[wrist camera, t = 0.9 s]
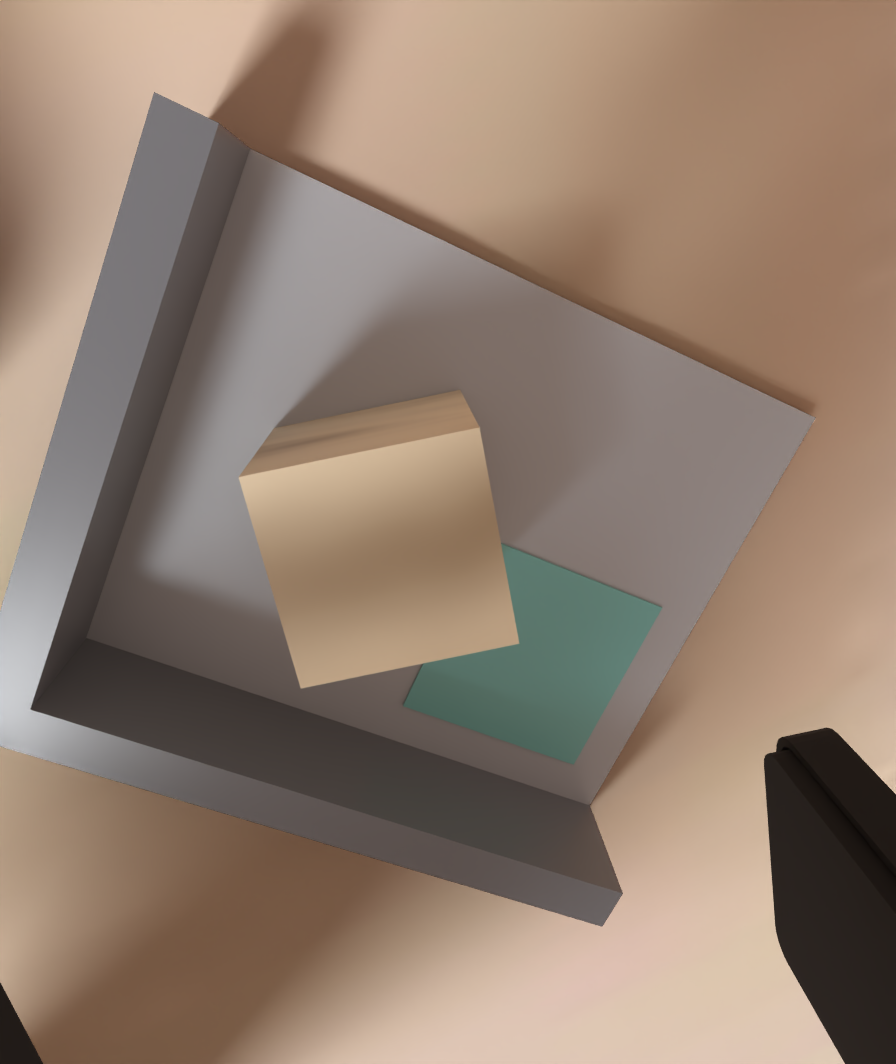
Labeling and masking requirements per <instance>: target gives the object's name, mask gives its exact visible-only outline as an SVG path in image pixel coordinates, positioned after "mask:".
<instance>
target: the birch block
mask: <svg viewBox="0 0 896 1064" xmlns="http://www.w3.org/2000/svg"><path fill="white" fill-rule="evenodd" d="M239 481H240V484H241V487H242V491H243V494H244V498H245V501H246V504H247V508H248V511H249V515H250V518H251V521H252V525H253V528H254V532H255V535H256V538H257V542H258V545H259V549H260V552H261V555H262V559H263V562H264V566H265V569H266V572H267V576H268V579H269V583H270V586H271V589H272V593H273V596H274V600H275V603H276V606H277V610H278V613H279V616H280V620H281V623H282V627H283V630H284V633H285V637H286V640H287V644H288V647H289V650H290V654H291V657H292V661H293V664H294V667H295V671H296V674H297V678H298V681H299V684H300V688H306V687H311V686H316V685H321V684H326V683H330V682H335V681H340V680H345V679H350V678H355V677H360V676H364V675H369V674H374V673H379V672H384V671H389V670H394V669H398V668H403V667H408V666H413V665H418V664H423V663H428V662H433V661H437V660H442V659H447V658H452V657H457V656H462V655H467V654H471V653H476V652H481V651H486V650H491V649H496V648H501V647H505V646H510V645H515V644H519V639H518V634H517V628H516V623H515V617H514V612H513V606H512V601H511V596H510V590H509V585H508V579H507V574H506V568H505V563H504V557H503V552H502V547H501V541H500V536H499V530H498V525H497V519H496V514H495V509H494V503H493V498H492V492H491V487H490V481H489V476H488V470H487V465H486V460H485V454H484V449H483V443H482V438H481V432H480V427H479V425H478V423H477V421H476V420H475V418H474V416H473V414H472V412H471V410H470V408H469V406H468V404H467V402H466V400H465V398H464V396H463V394H462V392H461V390H456V391H451V392H447V393H442V394H437V395H432V396H427V397H422V398H418V399H413V400H408V401H403V402H398V403H393V404H388V405H384V406H379V407H374V408H369V409H364V410H359V411H355V412H350V413H345V414H340V415H335V416H330V417H326V418H321V419H316V420H311V421H306V422H301V423H296V424H292V425H287V426H282V427H277V428H274V429H273V430H272V432H271V433H270V434H269V436H268V437H267V438H266V440H265V441H264V443H263V444H262V445H261V447H260V448H259V450H258V451H257V452H256V454H255V455H254V456H253V458H252V459H251V461H250V462H249V463H248V465H247V466H246V467H245V469H244V470H243V472H242V473H241V474H240V476H239Z"/></svg>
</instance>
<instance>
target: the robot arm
mask: <svg viewBox="0 0 896 1064" xmlns="http://www.w3.org/2000/svg"><path fill="white" fill-rule="evenodd" d="M764 770H765V784H766V799H767V813H768V827H769V842H770V856H771V870H772V885H773V899H774V913H775V926H776V933H777V937H778V941H779V944H780V947H781V949H782V952H783V954H784V957H785V959H786V961H787V963H788V965H789V966H790V968H791V970H792V972H793V973H794V975H795V977H796V979H797V980H798V982H799V984H800V986H801V987H802V989H803V991H804V993H805V994H806V996H807V998H808V1000H809V1001H810V1003H811V1005H812V1007H813V1008H814V1010H815V1012H816V1014H817V1015H818V1017H819V1019H820V1021H821V1022H822V1024H823V1026H824V1028H825V1029H826V1031H827V1033H828V1035H829V1036H830V1038H831V1040H832V1042H833V1043H834V1045H835V1047H836V1049H837V1050H838V1052H839V1054H840V1056H841V1057H842V1059H843V1061H844V1063H845V1064H896V794H895V793H894V792H893V791H892V790H891V789H890V788H889V787H888V786H887V785H886V784H885V783H884V782H883V781H882V780H881V778H880V777H879V776H878V775H877V774H876V773H875V772H874V771H873V770H872V769H871V768H870V767H869V766H868V765H867V764H866V763H865V762H864V761H863V760H862V759H861V757H860V756H859V755H858V754H857V753H856V752H855V751H854V750H853V749H852V748H851V747H850V746H849V745H848V744H847V743H846V742H845V741H844V740H843V739H842V737H841V736H840V735H839V734H838V733H836V732H835V731H834V730H833V729H830V728H823V729H818V730H814V731H809V732H804V733H800V734H795V735H790V736H785V737H782V738H780V739H778V742H777V749H776V752H774V753H769V754H767V755H765V758H764ZM0 1064H43V1063H42V1061H41V1059H40V1057H39V1055H38V1053H37V1051H36V1049H35V1047H34V1046H33V1044H32V1042H31V1040H30V1038H29V1036H28V1034H27V1032H26V1030H25V1028H24V1027H23V1025H22V1023H21V1021H20V1019H19V1017H18V1015H17V1013H16V1011H15V1009H14V1008H13V1006H12V1004H11V1002H10V1000H9V998H8V996H7V994H6V992H5V991H4V989H3V987H2V985H1V983H0Z"/></svg>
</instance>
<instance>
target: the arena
mask: <svg viewBox="0 0 896 1064" xmlns="http://www.w3.org/2000/svg"><path fill="white" fill-rule="evenodd" d="M456 390H461V392H462V394H463V396H464V398H465V400H466V402H467V404H468V406H469V408H470V410H471V412H472V414H473V416H474V418H475V420H476V421H477V423H478V425H479V427H480V432H481V438H482V443H483V449H484V454H485V460H486V465H487V470H488V476H489V481H490V487H491V492H492V498H493V503H494V509H495V514H496V519H497V525H498V530H499V536H500V541H501V547H502V552H503V557H504V563H505V568H506V574H507V579H508V585H509V590H510V596H511V601H512V606H513V612H514V617H515V623H516V628H517V634H518V639H519V644H515V645H510V646H505V647H501V648H496V649H491V650H486V651H481V652H476V653H471V654H467V655H462V656H457V657H452V658H447V659H442V660H437V661H433V662H428V663H423V664H418V665H413V666H408V667H403V668H398V669H394V670H389V671H384V672H379V673H374V674H369V675H364V676H360V677H355V678H350V679H345V680H340V681H335V682H330V683H326V684H321V685H316V686H311V687H306V688H300V684H299V681H298V678H297V674H296V671H295V667H294V664H293V661H292V657H291V654H290V650H289V647H288V644H287V640H286V637H285V633H284V630H283V627H282V623H281V620H280V616H279V613H278V610H277V606H276V603H275V600H274V596H273V593H272V589H271V586H270V583H269V579H268V576H267V572H266V569H265V566H264V562H263V559H262V555H261V552H260V549H259V545H258V542H257V538H256V535H255V532H254V528H253V525H252V521H251V518H250V515H249V511H248V508H247V504H246V501H245V498H244V494H243V491H242V487H241V484H240V481H239V476H240V474H241V473H242V472H243V470H244V469H245V467H246V466H247V465H248V463H249V462H250V461H251V459H252V458H253V456H254V455H255V454H256V452H257V451H258V450H259V448H260V447H261V445H262V444H263V443H264V441H265V440H266V438H267V437H268V436H269V434H270V433H271V432H272V430H273V429H274V428H277V427H282V426H287V425H292V424H296V423H301V422H306V421H311V420H316V419H321V418H326V417H330V416H335V415H340V414H345V413H350V412H355V411H359V410H364V409H369V408H374V407H379V406H384V405H388V404H393V403H398V402H403V401H408V400H413V399H418V398H422V397H427V396H432V395H437V394H442V393H447V392H451V391H456ZM814 420H815V417H813V416H811V415H809V414H807V413H804V412H802V411H800V410H798V409H796V408H794V407H792V406H790V405H788V404H786V403H783V402H781V401H779V400H777V399H775V398H773V397H771V396H769V395H767V394H764V393H762V392H760V391H758V390H756V389H754V388H752V387H750V386H748V385H746V384H743V383H741V382H739V381H737V380H735V379H733V378H731V377H729V376H727V375H725V374H722V373H720V372H718V371H716V370H714V369H712V368H710V367H708V366H706V365H704V364H701V363H699V362H697V361H695V360H693V359H691V358H689V357H687V356H685V355H683V354H680V353H678V352H676V351H674V350H672V349H670V348H668V347H666V346H664V345H662V344H659V343H657V342H655V341H653V340H651V339H649V338H647V337H645V336H643V335H641V334H638V333H636V332H634V331H632V330H630V329H628V328H626V327H624V326H622V325H620V324H617V323H615V322H613V321H611V320H609V319H607V318H605V317H603V316H601V315H599V314H596V313H594V312H592V311H590V310H588V309H586V308H584V307H582V306H580V305H578V304H575V303H573V302H571V301H569V300H567V299H565V298H563V297H561V296H559V295H557V294H554V293H552V292H550V291H548V290H546V289H544V288H542V287H540V286H538V285H536V284H533V283H531V282H529V281H527V280H525V279H523V278H521V277H519V276H517V275H515V274H512V273H510V272H508V271H506V270H504V269H502V268H500V267H498V266H496V265H494V264H491V263H489V262H487V261H485V260H483V259H481V258H479V257H477V256H475V255H473V254H470V253H468V252H466V251H464V250H462V249H460V248H458V247H456V246H454V245H452V244H449V243H447V242H445V241H443V240H441V239H439V238H437V237H435V236H433V235H431V234H428V233H426V232H424V231H422V230H420V229H418V228H416V227H414V226H412V225H410V224H407V223H405V222H403V221H401V220H399V219H397V218H395V217H393V216H391V215H389V214H386V213H384V212H382V211H380V210H378V209H376V208H374V207H372V206H370V205H368V204H365V203H363V202H361V201H359V200H357V199H355V198H353V197H351V196H349V195H347V194H344V193H342V192H340V191H338V190H336V189H334V188H332V187H330V186H328V185H326V184H323V183H321V182H319V181H317V180H315V179H313V178H311V177H309V176H307V175H305V174H302V173H300V172H298V171H296V170H294V169H292V168H290V167H288V166H286V165H284V164H281V163H279V162H277V161H275V160H273V159H271V158H269V157H267V156H265V155H263V154H260V153H258V152H256V151H254V150H252V149H250V148H249V147H248V146H246V145H245V144H244V143H243V142H241V141H240V140H239V139H238V138H237V137H235V136H234V135H233V134H232V133H230V132H229V131H228V130H227V129H225V128H224V127H223V126H222V125H220V124H219V123H217V122H215V121H213V120H211V119H209V118H207V117H205V116H203V115H201V114H199V113H197V112H194V111H192V110H190V109H188V108H186V107H184V106H182V105H180V104H178V103H176V102H174V101H172V100H169V99H167V98H165V97H163V96H161V95H159V94H157V93H155V92H154V94H153V98H152V101H151V104H150V108H149V111H148V114H147V118H146V121H145V125H144V128H143V131H142V135H141V138H140V141H139V145H138V148H137V152H136V155H135V158H134V162H133V165H132V168H131V172H130V175H129V179H128V182H127V185H126V189H125V192H124V195H123V199H122V202H121V206H120V209H119V212H118V216H117V219H116V222H115V226H114V229H113V233H112V236H111V239H110V243H109V246H108V249H107V253H106V256H105V259H104V263H103V266H102V270H101V273H100V276H99V280H98V283H97V286H96V290H95V293H94V297H93V300H92V303H91V307H90V310H89V313H88V317H87V320H86V324H85V327H84V330H83V334H82V337H81V340H80V344H79V347H78V351H77V354H76V357H75V361H74V364H73V367H72V371H71V374H70V378H69V381H68V384H67V388H66V391H65V394H64V398H63V401H62V404H61V408H60V411H59V415H58V418H57V421H56V425H55V428H54V431H53V435H52V438H51V442H50V445H49V448H48V452H47V455H46V458H45V462H44V465H43V469H42V472H41V475H40V479H39V482H38V485H37V489H36V492H35V496H34V499H33V502H32V506H31V509H30V512H29V516H28V519H27V523H26V526H25V529H24V533H23V536H22V539H21V543H20V546H19V549H18V553H17V556H16V560H15V563H14V566H13V570H12V573H11V576H10V580H9V583H8V587H7V590H6V593H5V597H4V600H3V603H2V607H1V610H0V747H3V748H7V749H10V750H13V751H17V752H20V753H23V754H27V755H30V756H33V757H37V758H40V759H43V760H47V761H50V762H54V763H57V764H60V765H64V766H67V767H70V768H74V769H77V770H80V771H84V772H87V773H90V774H94V775H97V776H100V777H104V778H107V779H110V780H114V781H117V782H120V783H124V784H127V785H130V786H134V787H137V788H140V789H144V790H147V791H150V792H154V793H157V794H160V795H164V796H167V797H171V798H174V799H177V800H181V801H184V802H187V803H191V804H194V805H197V806H201V807H204V808H207V809H211V810H214V811H217V812H221V813H224V814H227V815H231V816H234V817H237V818H241V819H244V820H247V821H251V822H254V823H257V824H261V825H264V826H267V827H271V828H274V829H278V830H281V831H284V832H288V833H291V834H294V835H298V836H301V837H304V838H308V839H311V840H314V841H318V842H321V843H324V844H328V845H331V846H334V847H338V848H341V849H344V850H348V851H351V852H354V853H358V854H361V855H364V856H368V857H371V858H374V859H378V860H381V861H385V862H388V863H391V864H395V865H398V866H401V867H405V868H408V869H411V870H415V871H418V872H421V873H425V874H428V875H431V876H435V877H438V878H441V879H445V880H448V881H451V882H455V883H458V884H461V885H465V886H468V887H471V888H475V889H478V890H481V891H485V892H488V893H492V894H495V895H498V896H502V897H505V898H508V899H512V900H515V901H518V902H522V903H525V904H528V905H532V906H535V907H538V908H542V909H545V910H548V911H552V912H555V913H558V914H562V915H565V916H568V917H572V918H575V919H578V920H582V921H585V922H588V923H592V924H595V925H598V926H603V925H604V923H605V921H606V920H607V918H608V917H609V915H610V913H611V912H612V910H613V909H614V907H615V905H616V904H617V902H618V900H619V899H620V897H621V896H622V894H623V893H622V890H621V887H620V885H619V882H618V879H617V877H616V874H615V871H614V869H613V866H612V863H611V861H610V858H609V855H608V853H607V850H606V847H605V845H604V842H603V839H602V837H601V834H600V831H599V829H598V826H597V823H596V821H595V818H594V815H593V813H592V810H591V807H590V804H591V803H592V801H593V799H594V797H595V796H596V794H597V792H598V791H599V789H600V787H601V785H602V784H603V782H604V780H605V779H606V777H607V775H608V773H609V772H610V770H611V768H612V767H613V765H614V763H615V761H616V760H617V758H618V756H619V754H620V753H621V751H622V749H623V748H624V746H625V744H626V742H627V741H628V739H629V737H630V736H631V734H632V732H633V730H634V729H635V727H636V725H637V724H638V722H639V720H640V718H641V717H642V715H643V713H644V712H645V710H646V708H647V706H648V705H649V703H650V701H651V700H652V698H653V696H654V694H655V693H656V691H657V689H658V688H659V686H660V684H661V682H662V681H663V679H664V677H665V676H666V674H667V672H668V670H669V669H670V667H671V665H672V664H673V662H674V660H675V658H676V657H677V655H678V653H679V652H680V650H681V648H682V646H683V645H684V643H685V641H686V640H687V638H688V636H689V634H690V633H691V631H692V629H693V628H694V626H695V624H696V622H697V621H698V619H699V617H700V615H701V614H702V612H703V610H704V609H705V607H706V605H707V603H708V602H709V600H710V598H711V597H712V595H713V593H714V591H715V590H716V588H717V586H718V585H719V583H720V581H721V579H722V578H723V576H724V574H725V573H726V571H727V569H728V567H729V566H730V564H731V562H732V561H733V559H734V557H735V555H736V554H737V552H738V550H739V549H740V547H741V545H742V543H743V542H744V540H745V538H746V537H747V535H748V533H749V531H750V530H751V528H752V526H753V525H754V523H755V521H756V519H757V518H758V516H759V514H760V513H761V511H762V509H763V507H764V506H765V504H766V502H767V501H768V499H769V497H770V495H771V494H772V492H773V490H774V489H775V487H776V485H777V483H778V482H779V480H780V478H781V477H782V475H783V473H784V471H785V470H786V468H787V466H788V464H789V463H790V461H791V459H792V458H793V456H794V454H795V452H796V451H797V449H798V447H799V446H800V444H801V442H802V440H803V439H804V437H805V435H806V434H807V432H808V430H809V428H810V427H811V425H812V423H813V422H814Z"/></svg>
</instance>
